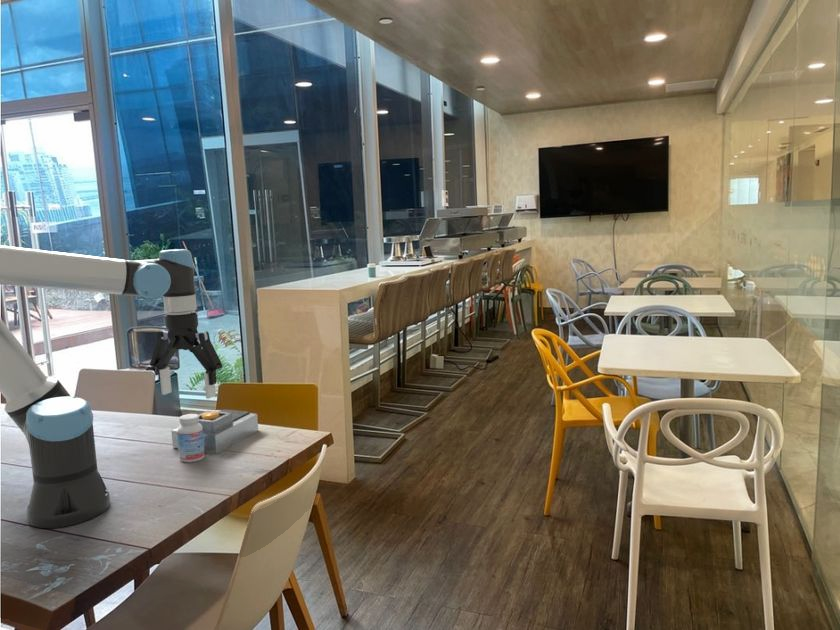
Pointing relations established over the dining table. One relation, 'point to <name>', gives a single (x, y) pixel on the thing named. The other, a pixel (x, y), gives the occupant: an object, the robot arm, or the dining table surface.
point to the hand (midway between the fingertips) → (188, 395)
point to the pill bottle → (190, 438)
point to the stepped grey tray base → (224, 429)
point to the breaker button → (210, 416)
